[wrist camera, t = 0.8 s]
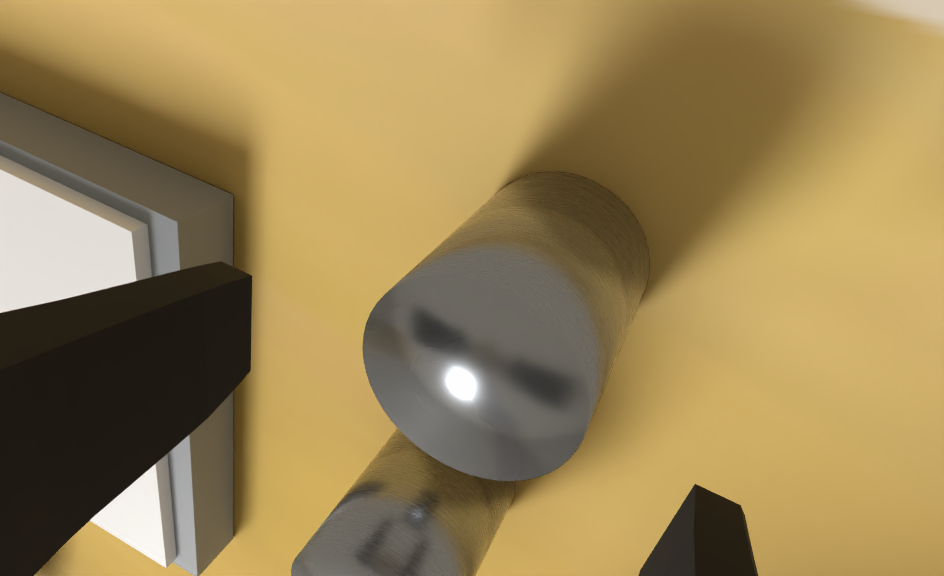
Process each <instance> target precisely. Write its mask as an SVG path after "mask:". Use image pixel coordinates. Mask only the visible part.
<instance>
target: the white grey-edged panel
mask: <svg viewBox="0 0 944 576" xmlns="http://www.w3.org/2000/svg"><path fill="white" fill-rule="evenodd" d="M220 261H222V262H224V263H226V264H228V265H230V266H232V267H233V194H230V193H228V192H226V191H223V190H221V189H219V188H217V187H214V186H212V185H210V184H208V183H205V182H203V181H201V180H198V179H196V178H194V177H192V176H189V175H187V174H185V173H183V172H180V171H178V170H176V169H173V168H171V167H169V166H167V165H164V164H162V163H160V162H157V161H155V160H153V159H151V158H148V157H146V156H144V155H142V154H139V153H137V152H135V151H132V150H130V149H128V148H126V147H123V146H121V145H119V144H117V143H114V142H112V141H110V140H107V139H105V138H103V137H101V136H98V135H96V134H94V133H92V132H89V131H87V130H85V129H82V128H80V127H78V126H76V125H73V124H71V123H69V122H67V121H64V120H62V119H60V118H57V117H55V116H53V115H51V114H48V113H46V112H44V111H41V110H39V109H37V108H35V107H32V106H30V105H28V104H26V103H23V102H21V101H19V100H16V99H14V98H12V97H10V96H7V95H5V94H3V93H1V92H0V313H2V312H6V311H11V310H16V309H20V308H25V307H30V306H34V305H39V304H43V303H48V302H53V301H57V300H62V299H66V298H70V297H74V296H78V295H82V294H86V293H90V292H94V291H98V290H102V289H106V288H110V287H114V286H119V285H123V284H127V283H131V282H134V281H138V280H142V279H146V278H150V277H154V276H158V275H162V274H166V273H170V272H174V271H178V270H182V269H187V268H191V267H195V266H200V265H204V264H209V263H215V262H220ZM90 521H91V522H93V523H95V524H96V525H98V526H99V527H101V528H103V529H104V530H106V531H107V532H109V533H111V534H112V535H114V536H116V537H117V538H119V539H120V540H122V541H124V542H125V543H127V544H128V545H130V546H132V547H133V548H135V549H136V550H138V551H140V552H141V553H143V554H145V555H146V556H148V557H149V558H151V559H153V560H154V561H156V562H157V563H159V564H161V565H162V566H164V567H165V568H167V567H168V566H169V565H170V564H171V563H172V562H173V563H175V564H176V565H178V566H179V567H181V568H183V569H184V570H186V571H188V572H189V573H191V574H192V575H194V576H199V575H200V574H201V573H202V572H203V571H204V570H205V569H206V568H207V567H208V565H209V564H210V563H211V562H212V561H213V560H214V559H215V558H216V557H217V556H218V555H219V553H220V552H221V551H222V550H223V549H224V548H225V547H226V546H227V545H228V544H229V542H230V541H231V540H232V539H233V391H232V393H231V394H230V395H229V396H228V397H227V398H226V399H225V400H224V401H223V403H222V404H221V405H220V406H219V407H218V408H217V409H216V410H215V411H214V412H213V413H212V414H211V415H210V417H209V418H208V419H206V420H205V421H204V422H203V423H202V424H201V425H200V426H199V427H197V428H196V429H195V430H194V431H193V432H192V433H191V434H189V435H188V436H187V437H186V438H185V439H184V440H183V441H181V442H180V443H179V444H178V445H177V446H176V447H175V448H173V449H172V450H171V451H170V452H169V453H168V454H166V455H165V456H164V457H163V458H162V459H161V460H159V461H158V462H157V463H156V464H155V465H154V466H152V467H151V468H150V469H149V470H148V471H147V472H145V473H144V474H143V475H142V476H141V477H140V478H138V479H137V480H136V481H135V482H134V483H133V484H131V485H130V486H129V487H128V488H127V489H125V490H124V491H123V492H122V493H121V494H120V495H118V496H117V497H116V498H115V499H114V500H113V501H111V502H110V503H109V504H108V505H107V506H106V507H104V508H103V509H102V510H101V511H100V512H99V513H97V514H96V515H95V516H94V517H93V518H92V519H91V520H90Z"/></svg>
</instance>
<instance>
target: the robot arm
mask: <svg viewBox="0 0 944 576" xmlns="http://www.w3.org/2000/svg"><path fill="white" fill-rule="evenodd" d="M251 305H252V276H251V275H249V274H247V273H245V272H243V271H241V270H239V269H237V268H234V267H232V266H230V265H228V264H226V263H224V262H222V261H220V262H215V263H209V264H204V265H200V266H195V267H191V268H187V269H182V270H178V271H174V272H170V273H166V274H162V275H158V276H154V277H150V278H146V279H142V280H138V281H134V282H131V283H127V284H123V285H119V286H114V287H110V288H106V289H102V290H98V291H94V292H90V293H86V294H82V295H78V296H74V297H70V298H66V299H62V300H57V301H53V302H48V303H43V304H39V305H34V306H30V307H25V308H20V309H16V310H11V311H6V312H2V313H0V576H34V575H35V574H36V573H37V572H38V570H39V569H40V568H41V567H42V566H43V565H44V564H45V563H46V562H47V561H48V560H49V559H50V558H51V557H52V556H53V555H54V554H55V553H56V552H57V551H58V550H59V549H60V548H61V547H62V546H63V545H64V544H65V543H66V542H67V541H68V540H69V539H70V538H71V537H72V536H73V535H74V534H75V533H76V532H78V531H79V530H80V529H81V528H82V527H83V526H84V525H85V524H86V523H87V522H88V521H90V520H91V519H92V518H93V517H94V516H95V515H96V514H97V513H99V512H100V511H101V510H102V509H103V508H104V507H106V506H107V505H108V504H109V503H110V502H111V501H113V500H114V499H115V498H116V497H117V496H118V495H120V494H121V493H122V492H123V491H124V490H125V489H127V488H128V487H129V486H130V485H131V484H133V483H134V482H135V481H136V480H137V479H138V478H140V477H141V476H142V475H143V474H144V473H145V472H147V471H148V470H149V469H150V468H151V467H152V466H154V465H155V464H156V463H157V462H158V461H159V460H161V459H162V458H163V457H164V456H165V455H166V454H168V453H169V452H170V451H171V450H172V449H173V448H175V447H176V446H177V445H178V444H179V443H180V442H181V441H183V440H184V439H185V438H186V437H187V436H188V435H189V434H191V433H192V432H193V431H194V430H195V429H196V428H197V427H199V426H200V425H201V424H202V423H203V422H204V421H205V420H206V419H208V418H209V417H210V415H211V414H212V413H213V412H214V411H215V410H216V409H217V408H218V407H219V406H220V405H221V404H222V403H223V401H224V400H225V399H226V398H227V397H228V396H229V395H230V394H231V393H232V391H233V390H234V389H235V388H236V387H237V386H238V385H239V383H240V382H241V381H242V380H243V379H244V378H245V376H246V375H247V374H248V373H249V372H250V369H251ZM639 576H758V573H757V569H756V565H755V560H754V556H753V552H752V547H751V542H750V538H749V533H748V529H747V524H746V519H745V515H744V512H743V510H742V508H741V505H739V504H737V503H734V502H732V501H730V500H728V499H726V498H724V497H722V496H720V495H717V494H715V493H713V492H711V491H709V490H707V489H705V488H703V487H700V486H698V485H696V484H695V485H694V486H693V488H692V490H691V491H690V493H689V494H688V496H687V497H686V499H685V501H684V502H683V504H682V505H681V507H680V508H679V510H678V512H677V513H676V515H675V516H674V518H673V520H672V521H671V523H670V524H669V526H668V527H667V529H666V531H665V532H664V534H663V535H662V537H661V538H660V540H659V542H658V543H657V545H656V546H655V548H654V550H653V551H652V553H651V554H650V556H649V557H648V559H647V561H646V562H645V564H644V565H643V567H642V568H641V570H640V573H639Z"/></svg>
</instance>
